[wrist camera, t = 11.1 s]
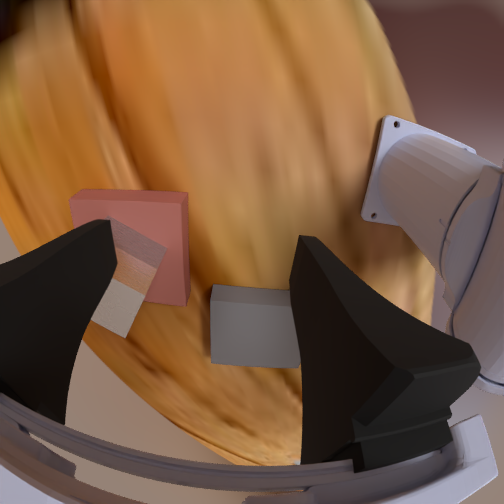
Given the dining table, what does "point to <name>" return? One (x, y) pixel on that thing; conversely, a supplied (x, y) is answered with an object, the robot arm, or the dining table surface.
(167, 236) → the stand
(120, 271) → the grey cube
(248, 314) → the stand
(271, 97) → the dining table surface
